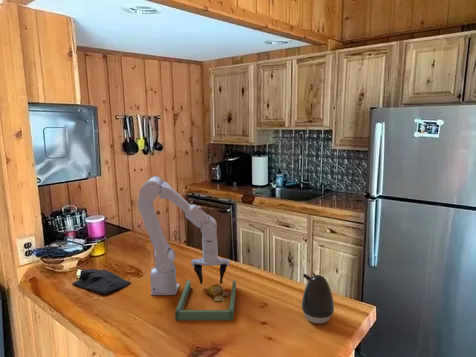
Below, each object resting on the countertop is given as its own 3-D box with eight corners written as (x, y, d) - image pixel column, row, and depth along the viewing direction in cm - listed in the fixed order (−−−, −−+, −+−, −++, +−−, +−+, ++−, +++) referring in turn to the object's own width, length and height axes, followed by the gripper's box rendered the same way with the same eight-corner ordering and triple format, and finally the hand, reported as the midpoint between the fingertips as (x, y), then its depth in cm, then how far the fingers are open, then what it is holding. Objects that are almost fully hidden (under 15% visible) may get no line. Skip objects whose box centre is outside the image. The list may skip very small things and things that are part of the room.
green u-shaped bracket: (175, 320, 117) (175, 312, 116) (187, 287, 138) (187, 280, 138) (233, 320, 116) (232, 312, 115) (236, 287, 137) (235, 280, 137)
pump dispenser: (310, 306, 123) (310, 265, 120) (338, 317, 116) (340, 274, 113) (295, 320, 115) (295, 277, 112) (324, 332, 108) (325, 286, 105)
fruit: (219, 304, 126) (219, 294, 125) (202, 297, 131) (201, 288, 130) (233, 294, 133) (233, 285, 132) (216, 288, 138) (216, 279, 137)
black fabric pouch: (100, 300, 131) (99, 288, 130) (69, 284, 144) (68, 273, 143) (134, 284, 143) (133, 273, 142) (103, 270, 156) (102, 260, 155)
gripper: (229, 245, 138) (230, 277, 140) (192, 245, 138) (194, 277, 141) (228, 252, 131) (229, 286, 133) (189, 252, 131) (191, 286, 134)
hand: (211, 282), depth 137 cm, fingers open, 7 cm apart
